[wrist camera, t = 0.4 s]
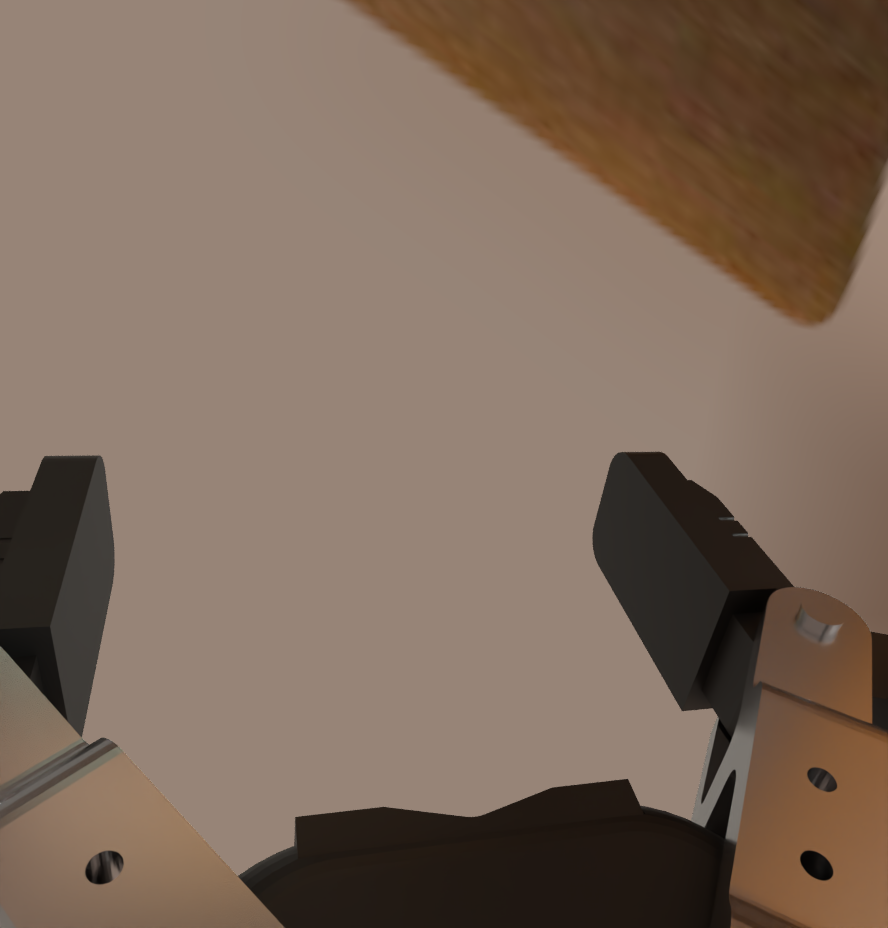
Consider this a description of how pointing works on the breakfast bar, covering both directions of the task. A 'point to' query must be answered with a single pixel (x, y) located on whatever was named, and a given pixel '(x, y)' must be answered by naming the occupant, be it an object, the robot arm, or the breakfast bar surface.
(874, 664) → the robot arm
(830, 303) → the breakfast bar surface
